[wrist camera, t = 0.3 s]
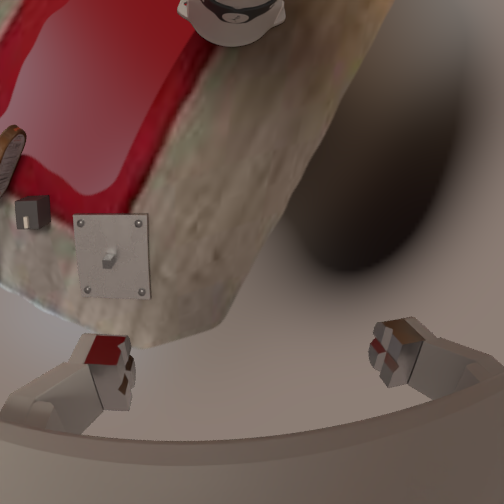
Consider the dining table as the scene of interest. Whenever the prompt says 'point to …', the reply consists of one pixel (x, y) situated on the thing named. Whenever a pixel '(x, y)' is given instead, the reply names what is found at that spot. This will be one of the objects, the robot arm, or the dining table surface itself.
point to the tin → (10, 153)
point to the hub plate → (116, 243)
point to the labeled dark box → (32, 212)
